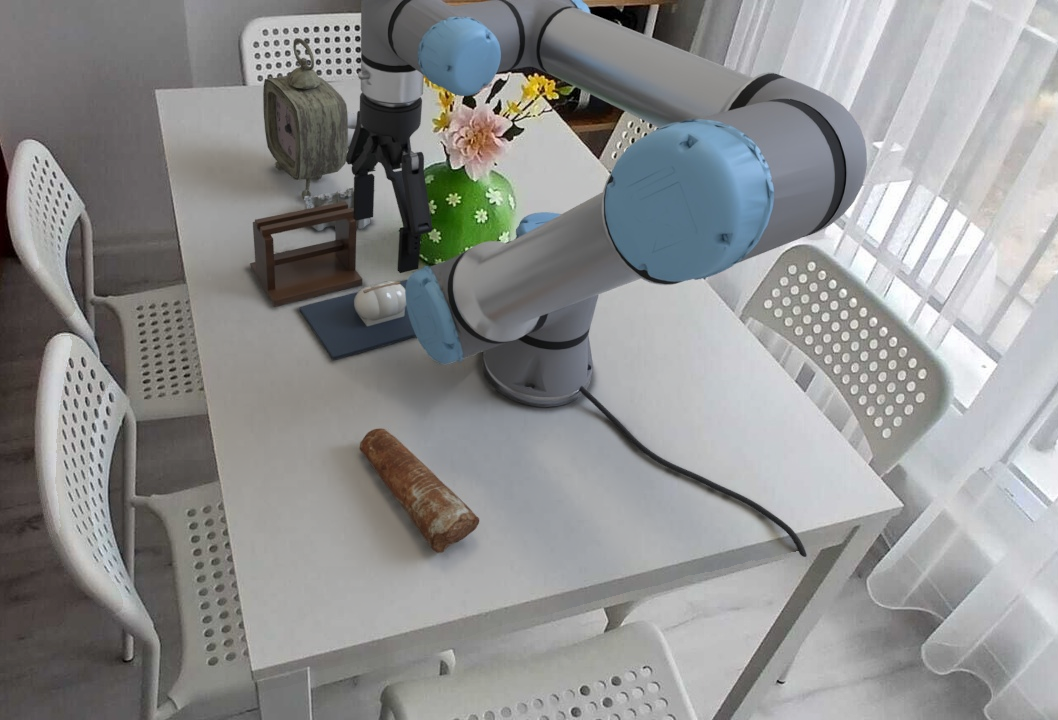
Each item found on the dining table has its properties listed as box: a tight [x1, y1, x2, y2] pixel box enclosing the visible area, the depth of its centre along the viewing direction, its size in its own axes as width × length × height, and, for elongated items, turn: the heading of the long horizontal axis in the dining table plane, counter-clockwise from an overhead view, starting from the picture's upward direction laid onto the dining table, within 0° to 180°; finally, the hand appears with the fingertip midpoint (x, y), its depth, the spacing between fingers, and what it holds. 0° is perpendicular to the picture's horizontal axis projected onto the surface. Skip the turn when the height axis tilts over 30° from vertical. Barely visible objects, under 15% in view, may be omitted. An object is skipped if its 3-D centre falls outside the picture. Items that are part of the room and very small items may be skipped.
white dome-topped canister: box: [354, 280, 406, 326], centre depth 128 cm, size 5×8×5 cm, turn 121°
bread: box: [359, 427, 480, 554], centre depth 104 cm, size 6×19×6 cm, turn 34°
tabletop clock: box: [262, 37, 349, 200], centre depth 148 cm, size 14×9×25 cm, turn 33°
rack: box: [249, 201, 363, 308], centre depth 132 cm, size 10×14×11 cm
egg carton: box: [303, 186, 371, 232], centre depth 147 cm, size 11×8×4 cm
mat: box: [298, 279, 417, 361], centre depth 130 cm, size 12×20×1 cm, turn 121°
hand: (384, 243), depth 121 cm, fingers open, 13 cm apart
